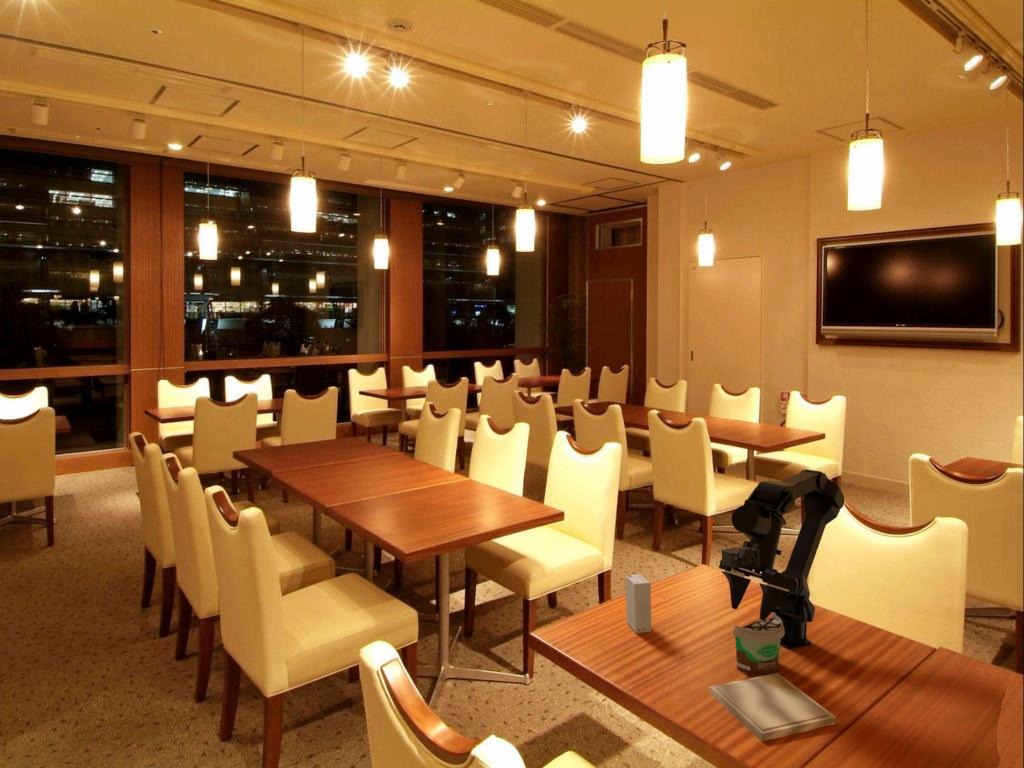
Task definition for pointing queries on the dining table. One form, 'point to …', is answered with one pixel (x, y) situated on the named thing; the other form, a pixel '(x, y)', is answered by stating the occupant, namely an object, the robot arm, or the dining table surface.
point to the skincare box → (638, 603)
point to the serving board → (771, 706)
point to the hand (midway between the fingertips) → (747, 614)
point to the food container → (759, 646)
